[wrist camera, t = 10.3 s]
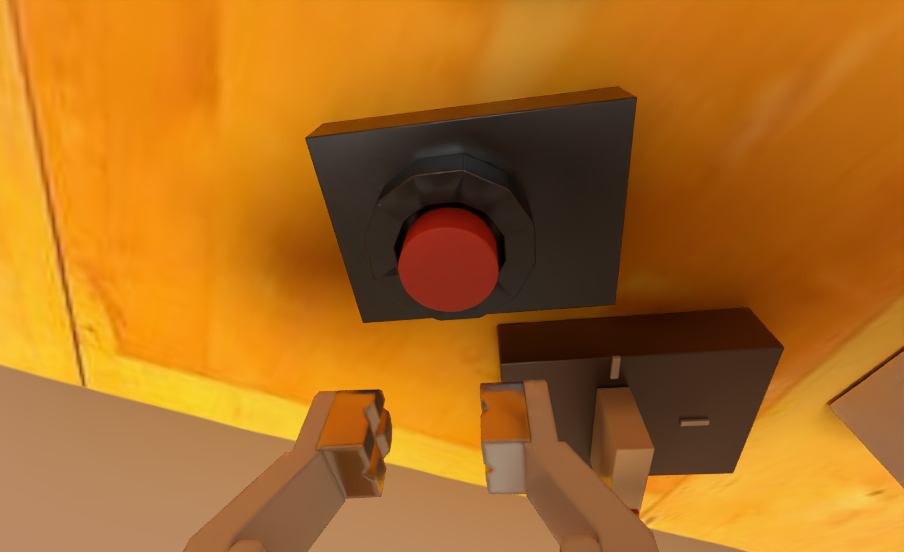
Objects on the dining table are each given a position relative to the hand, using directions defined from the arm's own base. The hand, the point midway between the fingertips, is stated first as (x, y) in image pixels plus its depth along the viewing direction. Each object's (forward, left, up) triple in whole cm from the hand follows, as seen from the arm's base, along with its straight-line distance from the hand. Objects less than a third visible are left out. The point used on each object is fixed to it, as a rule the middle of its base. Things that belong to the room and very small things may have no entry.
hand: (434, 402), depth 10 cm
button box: (-1, 0, -11) cm, 11 cm away
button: (0, 0, -8) cm, 8 cm away
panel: (-8, +12, -11) cm, 18 cm away
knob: (-7, +12, -8) cm, 16 cm away
